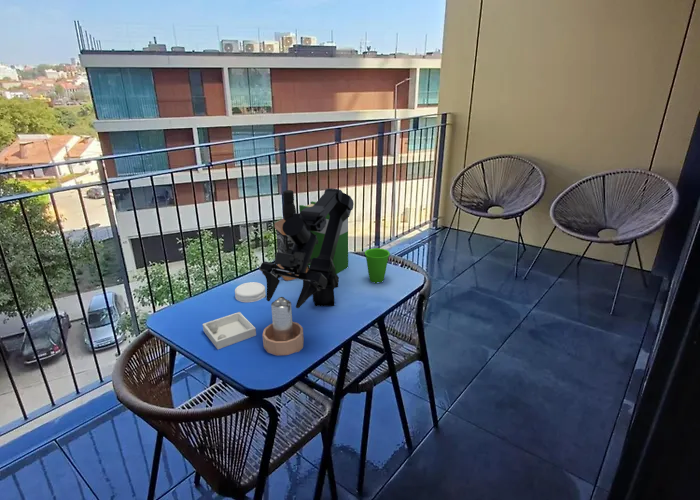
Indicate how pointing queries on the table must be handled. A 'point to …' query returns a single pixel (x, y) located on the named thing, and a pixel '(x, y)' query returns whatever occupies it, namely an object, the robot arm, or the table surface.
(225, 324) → the tray
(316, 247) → the hardback book
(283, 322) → the silver ball-topped cylinder
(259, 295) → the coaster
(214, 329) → the pebble
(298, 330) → the bowl
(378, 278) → the cup
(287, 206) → the whiskey bottle
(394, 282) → the table surface
